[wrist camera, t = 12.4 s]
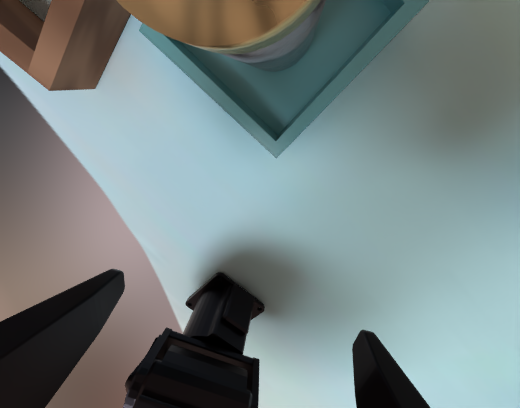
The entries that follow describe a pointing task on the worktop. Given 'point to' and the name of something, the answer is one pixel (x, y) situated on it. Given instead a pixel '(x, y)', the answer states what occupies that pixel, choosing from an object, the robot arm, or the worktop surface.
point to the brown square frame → (62, 40)
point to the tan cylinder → (236, 27)
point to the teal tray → (294, 69)
